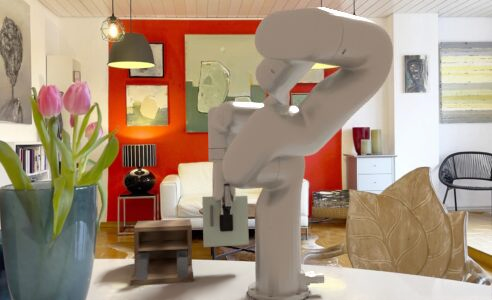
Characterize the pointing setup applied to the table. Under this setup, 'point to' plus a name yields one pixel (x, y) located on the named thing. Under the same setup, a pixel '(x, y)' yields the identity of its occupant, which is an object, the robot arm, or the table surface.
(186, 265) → the hinge clips
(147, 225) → the cabinet
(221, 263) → the table surface
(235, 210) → the door
